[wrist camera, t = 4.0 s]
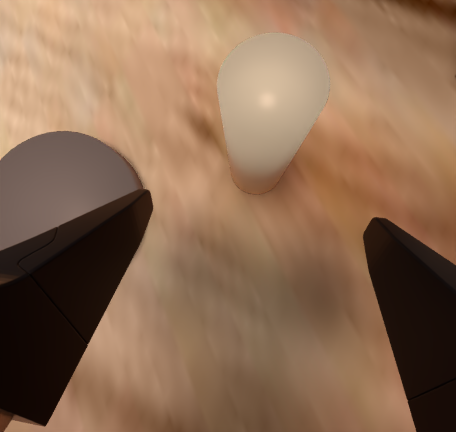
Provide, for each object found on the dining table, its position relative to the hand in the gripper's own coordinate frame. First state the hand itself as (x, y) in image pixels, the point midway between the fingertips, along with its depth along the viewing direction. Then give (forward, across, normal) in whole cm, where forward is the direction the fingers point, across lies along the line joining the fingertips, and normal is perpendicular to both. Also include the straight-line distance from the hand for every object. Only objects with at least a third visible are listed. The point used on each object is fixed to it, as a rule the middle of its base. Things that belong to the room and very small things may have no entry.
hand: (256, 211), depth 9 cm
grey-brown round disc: (+8, +17, +9) cm, 21 cm away
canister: (+12, 0, +5) cm, 13 cm away
